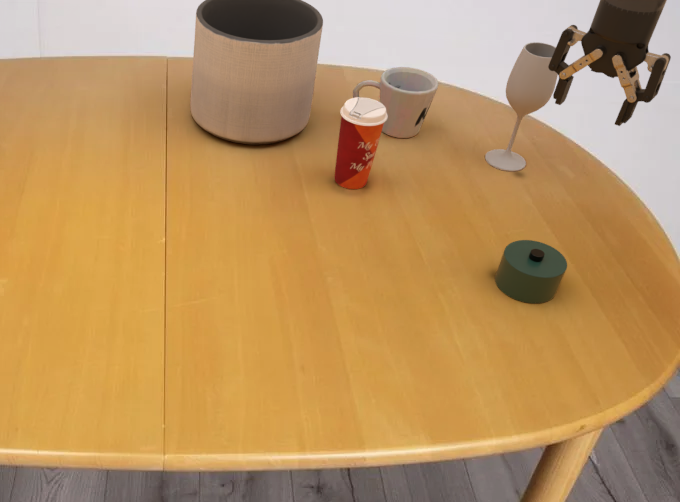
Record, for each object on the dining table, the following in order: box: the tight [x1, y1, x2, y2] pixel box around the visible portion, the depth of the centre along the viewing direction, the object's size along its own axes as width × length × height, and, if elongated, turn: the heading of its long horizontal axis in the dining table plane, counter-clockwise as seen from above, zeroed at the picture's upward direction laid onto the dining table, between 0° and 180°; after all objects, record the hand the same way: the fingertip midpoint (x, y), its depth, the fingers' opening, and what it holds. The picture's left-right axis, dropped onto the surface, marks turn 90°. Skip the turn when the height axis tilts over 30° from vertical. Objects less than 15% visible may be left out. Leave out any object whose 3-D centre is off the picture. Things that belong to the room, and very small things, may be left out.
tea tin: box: [494, 239, 568, 305], centre depth 130 cm, size 9×9×6 cm
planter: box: [189, 0, 324, 145], centre depth 159 cm, size 23×23×20 cm
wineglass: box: [484, 41, 559, 173], centre depth 151 cm, size 8×8×21 cm
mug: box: [352, 66, 440, 139], centre depth 162 cm, size 10×15×10 cm
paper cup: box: [334, 96, 387, 190], centre depth 147 cm, size 8×8×14 cm
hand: (588, 112), depth 123 cm, fingers open, 8 cm apart
